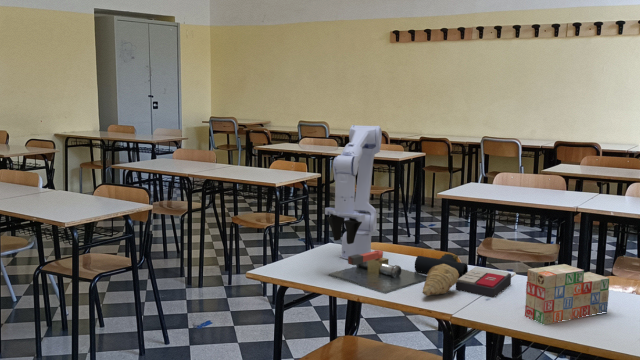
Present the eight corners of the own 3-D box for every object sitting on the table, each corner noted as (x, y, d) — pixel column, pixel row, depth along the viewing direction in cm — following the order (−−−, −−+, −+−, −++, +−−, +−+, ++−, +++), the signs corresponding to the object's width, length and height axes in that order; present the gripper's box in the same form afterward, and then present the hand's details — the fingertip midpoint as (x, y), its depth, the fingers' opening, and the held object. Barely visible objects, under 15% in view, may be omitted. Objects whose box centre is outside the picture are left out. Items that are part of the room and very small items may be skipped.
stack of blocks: (587, 306, 157) (591, 260, 155) (607, 314, 151) (611, 266, 149) (523, 316, 148) (527, 268, 146) (542, 325, 142) (546, 275, 141)
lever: (377, 256, 183) (378, 249, 183) (384, 257, 181) (384, 250, 181) (347, 263, 174) (347, 256, 174) (354, 265, 172) (354, 258, 172)
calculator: (455, 278, 167) (475, 264, 179) (454, 293, 168) (474, 278, 180) (494, 286, 161) (511, 270, 173) (493, 301, 162) (511, 285, 174)
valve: (328, 275, 179) (328, 259, 178) (375, 263, 193) (375, 248, 193) (384, 293, 163) (385, 276, 162) (431, 279, 177) (432, 262, 177)
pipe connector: (429, 249, 193) (475, 256, 185) (428, 265, 193) (474, 272, 186) (414, 257, 183) (462, 265, 175) (414, 274, 184) (461, 282, 176)
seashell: (442, 305, 155) (443, 275, 154) (413, 299, 159) (414, 269, 158) (460, 291, 166) (461, 263, 165) (432, 286, 171) (433, 258, 170)
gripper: (317, 194, 178) (317, 239, 180) (353, 201, 168) (352, 248, 169) (334, 192, 183) (333, 235, 185) (370, 198, 172) (368, 244, 174)
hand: (343, 241), depth 177 cm, fingers open, 5 cm apart
